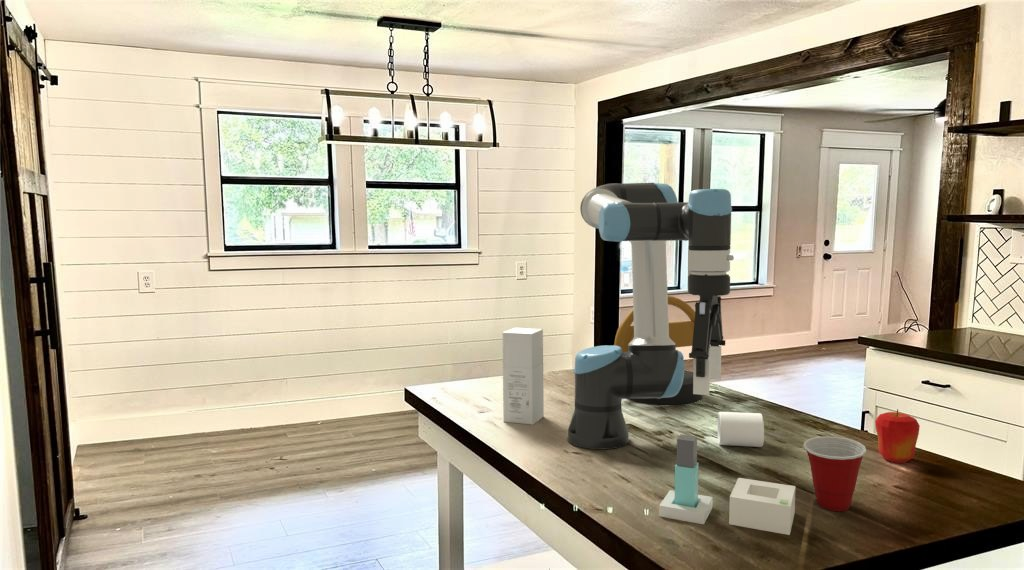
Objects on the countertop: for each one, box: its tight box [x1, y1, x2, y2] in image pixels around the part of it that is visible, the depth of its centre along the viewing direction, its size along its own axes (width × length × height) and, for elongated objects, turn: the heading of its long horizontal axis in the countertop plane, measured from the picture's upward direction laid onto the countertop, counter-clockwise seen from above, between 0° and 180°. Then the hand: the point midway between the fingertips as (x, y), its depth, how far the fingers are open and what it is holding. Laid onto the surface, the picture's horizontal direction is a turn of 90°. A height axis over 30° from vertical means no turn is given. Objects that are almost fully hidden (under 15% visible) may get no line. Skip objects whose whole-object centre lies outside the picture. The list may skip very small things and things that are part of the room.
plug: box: [674, 434, 699, 508], centre depth 127 cm, size 4×4×14 cm
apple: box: [874, 408, 921, 464], centre depth 156 cm, size 9×8×12 cm
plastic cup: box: [803, 435, 867, 512], centre depth 131 cm, size 11×11×12 cm
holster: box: [658, 489, 713, 525], centre depth 127 cm, size 8×8×3 cm
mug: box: [716, 411, 765, 448], centre depth 170 cm, size 12×10×8 cm
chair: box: [613, 295, 703, 406], centre depth 216 cm, size 25×35×32 cm
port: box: [728, 477, 796, 536], centre depth 124 cm, size 10×10×6 cm
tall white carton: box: [502, 327, 545, 426], centre depth 191 cm, size 9×9×25 cm
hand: (707, 386), depth 129 cm, fingers open, 13 cm apart
